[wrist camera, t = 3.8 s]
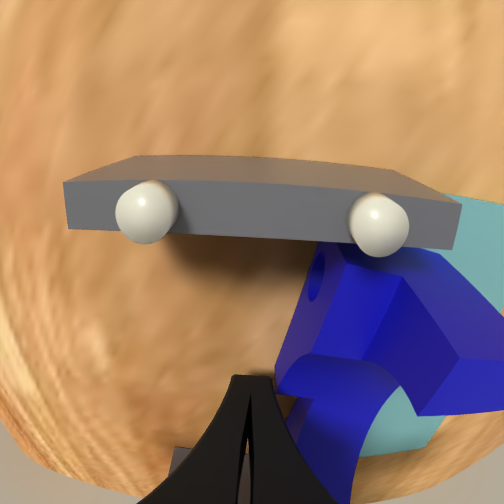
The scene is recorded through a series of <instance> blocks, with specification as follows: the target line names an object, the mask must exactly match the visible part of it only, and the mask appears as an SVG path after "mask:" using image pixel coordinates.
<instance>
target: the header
mask: <svg viewBox="0 0 504 504" xmlns="http://www.w3.org/2000/svg"><path fill="white" fill-rule="evenodd" d="M63 187H64V197H65V206H66V214H67V222H68V229H81V230H108V231H122V233H123V234H124V235H125V236H126V237H127V238H128V239H130V240H132V241H133V242H136V243H139V244H152V243H155V242H157V241H159V240H160V239H161V238H162V237H163V236H164V235H165V234H166V233H178V234H199V235H219V236H238V237H257V238H275V239H292V240H309V241H325V242H341V243H356V244H358V246H359V247H360V249H361V250H362V251H363V252H364V253H366V254H368V255H370V256H373V257H385V256H389V255H391V254H393V253H395V252H396V251H397V250H398V249H399V248H400V247H414V248H428V249H441V250H452V249H453V245H454V241H455V237H456V233H457V228H458V224H459V219H460V215H461V210H462V205H463V204H461V203H459V202H457V201H455V200H453V199H452V198H450V197H448V196H446V195H444V194H442V193H440V192H438V191H436V190H434V189H432V188H430V187H428V186H426V185H424V184H422V183H420V182H418V181H415V180H413V179H411V178H409V177H407V176H405V175H402V174H400V173H398V172H396V171H394V170H387V169H380V168H372V167H364V166H356V165H347V164H338V163H328V162H318V161H306V160H294V159H279V158H262V157H241V156H202V155H164V156H134V157H131V158H128V159H125V160H122V161H119V162H116V163H113V164H110V165H107V166H104V167H102V168H99V169H96V170H93V171H91V172H88V173H85V174H83V175H80V176H77V177H75V178H72V179H70V180H67V181H65V182H63ZM191 451H192V449H187V448H180V447H175V449H174V453H173V458H172V462H171V466H170V470H169V474H168V476H169V475H170V474H171V473H172V472H173V471H174V470H175V469H176V468H177V467H178V466H179V465H180V464H181V463H182V461H183V460H184V459H185V458H186V457H187V456H188V454H189V453H190V452H191ZM238 504H250V466H249V454H245V457H244V462H243V468H242V474H241V479H240V486H239V494H238Z"/></svg>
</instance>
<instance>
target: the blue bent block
mask: <svg viewBox="0 0 504 504" xmlns="http://www.w3.org/2000/svg"><path fill="white" fill-rule="evenodd" d="M399 386H401V387H402V388H403V390H404V392H405V393H406V395H407V397H408V398H409V400H410V402H411V404H412V406H413V408H414V411H415V413H416V415H417V417H420V416H446V415H461V414H473V413H483V412H492V411H500V410H504V317H503V316H502V315H501V314H500V313H499V312H498V311H497V310H496V309H495V308H494V307H493V305H492V304H491V303H490V302H489V301H488V300H487V299H486V298H485V297H484V296H483V295H482V294H481V293H480V292H479V291H478V290H477V289H476V288H475V287H474V286H473V285H472V284H471V283H470V282H469V281H468V280H467V279H466V278H465V277H464V276H463V275H462V274H461V273H460V272H459V271H458V270H456V269H455V268H454V267H453V266H452V265H451V264H450V263H449V262H448V261H447V260H446V259H445V258H444V257H443V256H441V255H440V254H439V253H435V252H432V251H429V250H425V249H422V248H414V247H400V248H399V249H398V250H397V251H396V252H395V253H393V254H391V255H389V256H385V257H373V256H370V255H368V254H366V253H364V252H363V251H362V250H361V249H360V247H359V246H358V244H356V243H341V242H325V241H318V244H317V247H316V250H315V253H314V256H313V259H312V262H311V265H310V268H309V271H308V274H307V277H306V280H305V283H304V286H303V289H302V292H301V295H300V298H299V301H298V303H297V306H296V309H295V312H294V315H293V318H292V320H291V323H290V326H289V329H288V332H287V334H286V337H285V340H284V343H283V345H282V348H281V351H280V353H279V356H278V359H277V361H276V364H275V394H282V395H289V396H297V397H298V399H297V401H296V403H295V404H294V406H293V408H292V410H291V412H290V414H289V416H288V418H287V420H286V422H285V423H286V425H287V428H288V430H289V432H290V434H291V436H292V438H293V440H294V442H295V444H296V446H297V447H298V449H299V451H300V453H301V454H302V456H303V458H304V459H305V461H306V462H307V464H308V466H309V467H310V468H311V470H312V471H313V473H314V474H315V476H316V477H317V478H318V480H319V481H320V482H321V483H322V485H323V486H324V487H325V488H326V490H327V491H328V492H329V493H330V495H331V496H332V497H333V498H334V499H335V500H336V501H337V502H338V503H339V504H350V497H351V489H352V483H353V478H354V473H355V469H356V465H357V461H358V458H359V455H360V451H361V449H362V446H363V443H364V440H365V438H366V436H367V433H368V431H369V429H370V427H371V425H372V423H373V421H374V419H375V417H376V415H377V414H378V412H379V411H380V409H381V407H382V406H383V405H384V403H385V402H386V400H387V399H388V398H389V397H390V396H391V395H392V393H393V392H394V391H395V390H396V389H397V388H398V387H399Z"/></svg>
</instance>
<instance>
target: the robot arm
mask: <svg viewBox="0 0 504 504" xmlns="http://www.w3.org/2000/svg"><path fill="white" fill-rule="evenodd" d="M247 439H248V445H249V466H250V504H339V503H338V502H337V501H336V500H335V499H334V498H333V497H332V496H331V495H330V493H329V492H328V491H327V490H326V488H325V487H324V486H323V485H322V483H321V482H320V481H319V480H318V478H317V477H316V476H315V474H314V473H313V471H312V470H311V468H310V467H309V466H308V464H307V462H306V461H305V459H304V458H303V456H302V454H301V453H300V451H299V449H298V447H297V446H296V444H295V442H294V440H293V438H292V436H291V434H290V432H289V430H288V428H287V425H286V423H285V421H284V418H283V416H282V413H281V411H280V408H279V405H278V402H277V399H276V396H275V393H274V389H273V384H272V379H271V378H270V377H269V376H253V375H237V374H235V375H233V376H232V377H231V381H230V384H229V387H228V390H227V392H226V395H225V397H224V399H223V401H222V403H221V405H220V407H219V409H218V411H217V413H216V415H215V416H214V418H213V420H212V422H211V423H210V425H209V426H208V428H207V429H206V431H205V432H204V434H203V436H202V437H201V439H200V440H199V441H198V443H197V444H196V445H195V447H194V448H193V449H192V451H191V452H190V453H189V454H188V456H187V457H186V458H185V459H184V460H183V461H182V463H181V464H180V465H179V466H178V467H177V468H176V469H175V470H174V471H173V472H172V473H171V474H170V475H169V476H168V477H167V478H166V479H165V480H164V481H163V482H162V483H161V484H160V485H159V486H158V487H157V488H155V489H154V490H153V491H152V492H151V493H150V494H149V495H147V496H146V497H145V498H143V499H142V500H141V501H139V502H138V503H137V504H238V494H239V486H240V479H241V474H242V468H243V462H244V457H245V451H246V445H247Z"/></svg>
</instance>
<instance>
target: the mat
mask: <svg viewBox="0 0 504 504" xmlns="http://www.w3.org/2000/svg"><path fill="white" fill-rule="evenodd" d="M442 194H443V193H442ZM444 195H446V196H448V197H450V198H452V199H453V200H455V201H457V202H459V203H461V204H463V205H462V210H461V215H460V219H459V224H458V228H457V233H456V237H455V241H454V245H453V249H452V250H441V249H428V248H422V249H425V250H429V251H432V252H435V253H439V254H440V255H441V256H443V257H444V258H445V259H446V260H447V261H448V262H449V263H450V264H451V265H452V266H453V267H454V268H455V269H456V270H458V271H459V272H460V273H461V274H462V275H463V276H464V277H465V278H466V279H467V280H468V281H469V282H470V283H471V284H472V285H473V286H474V287H475V288H476V289H477V290H478V291H479V292H480V293H481V294H482V295H483V296H484V297H485V298H486V299H487V300H488V301H489V302H490V303H491V304H492V305H493V307H494V308H495V309H496V310H497V311H498V312H499V313H501V311H502V309H503V306H504V205H502V204H497V203H493V202H488V201H482V200H477V199H472V198H466V197H461V196H455V195H449V194H444ZM446 416H447V415H446ZM446 416H420V417H417V415H416V413H415V411H414V408H413V406H412V404H411V402H410V400H409V398H408V397H407V395H406V393H405V392H404V390H403V388H402V387H401V386H399V387H398V388H397V389H396V390H395V391H394V392H393V393H392V395H391V396H390V397H389V398H388V399H387V400H386V402H385V403H384V405H383V406H382V407H381V409H380V411H379V412H378V414H377V415H376V417H375V419H374V421H373V423H372V425H371V427H370V429H369V431H368V433H367V436H366V438H365V440H364V443H363V446H362V449H361V451H360V455H359V457H368V456H376V455H384V454H391V453H397V452H403V451H409V450H415V449H420V448H424V447H425V446H426V444H427V443H428V442H429V440H430V439H431V437H432V436H433V435H434V433H435V432H436V430H437V429H438V427H439V426H440V425H441V423H442V422H443V420H444V419H445V417H446Z"/></svg>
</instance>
